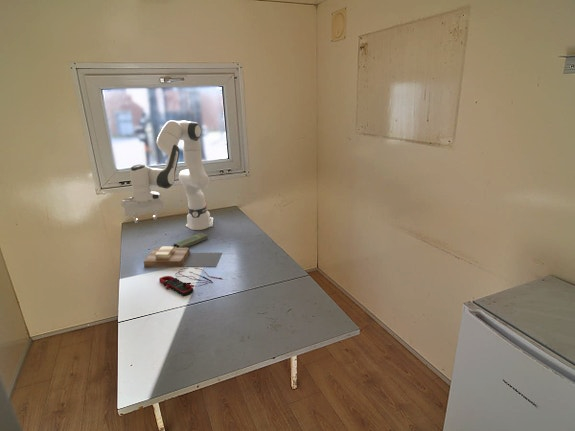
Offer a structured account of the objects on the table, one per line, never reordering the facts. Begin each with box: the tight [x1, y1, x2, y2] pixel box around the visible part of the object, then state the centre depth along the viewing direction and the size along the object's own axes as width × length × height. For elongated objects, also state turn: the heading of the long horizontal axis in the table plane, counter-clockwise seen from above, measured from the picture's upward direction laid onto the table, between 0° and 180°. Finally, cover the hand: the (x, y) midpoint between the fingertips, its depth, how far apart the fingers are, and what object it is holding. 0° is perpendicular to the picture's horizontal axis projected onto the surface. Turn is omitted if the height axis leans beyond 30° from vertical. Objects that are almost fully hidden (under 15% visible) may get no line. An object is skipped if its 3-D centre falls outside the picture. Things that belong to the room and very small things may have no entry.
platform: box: [143, 247, 191, 268], centre depth 191 cm, size 16×20×4 cm
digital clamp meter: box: [158, 267, 226, 298], centre depth 170 cm, size 23×4×25 cm
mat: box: [181, 252, 222, 268], centre depth 191 cm, size 16×18×1 cm
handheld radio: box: [172, 232, 209, 248], centre depth 209 cm, size 7×3×25 cm
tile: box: [155, 245, 175, 259], centre depth 190 cm, size 10×7×2 cm
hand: (146, 220), depth 184 cm, fingers open, 8 cm apart
